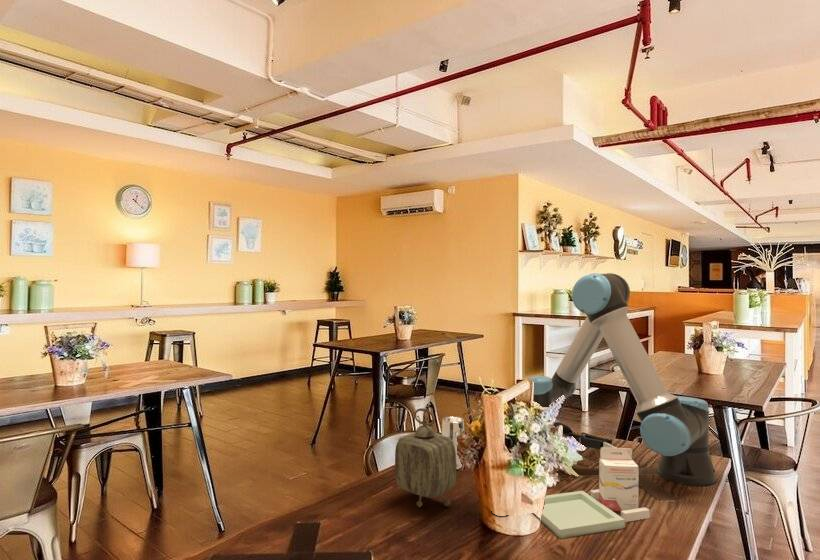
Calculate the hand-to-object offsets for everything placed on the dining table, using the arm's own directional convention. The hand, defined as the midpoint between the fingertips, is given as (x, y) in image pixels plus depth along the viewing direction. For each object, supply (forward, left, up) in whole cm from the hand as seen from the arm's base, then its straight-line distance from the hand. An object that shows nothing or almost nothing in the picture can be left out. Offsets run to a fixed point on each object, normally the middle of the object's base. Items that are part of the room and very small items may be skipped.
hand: (597, 456), depth 141 cm
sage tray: (+14, +10, -10) cm, 20 cm away
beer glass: (+31, -29, -10) cm, 44 cm away
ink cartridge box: (0, +9, -10) cm, 13 cm away
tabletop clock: (+47, -7, -10) cm, 49 cm away
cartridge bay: (0, +9, -10) cm, 13 cm away
